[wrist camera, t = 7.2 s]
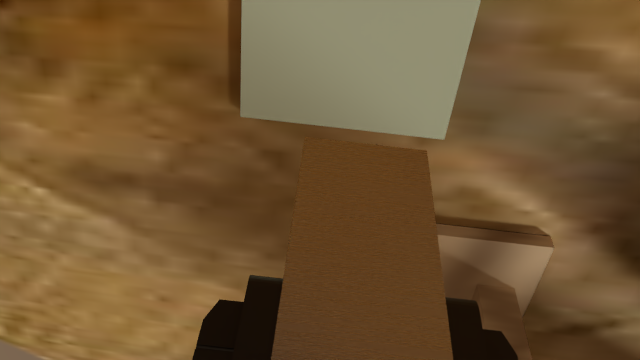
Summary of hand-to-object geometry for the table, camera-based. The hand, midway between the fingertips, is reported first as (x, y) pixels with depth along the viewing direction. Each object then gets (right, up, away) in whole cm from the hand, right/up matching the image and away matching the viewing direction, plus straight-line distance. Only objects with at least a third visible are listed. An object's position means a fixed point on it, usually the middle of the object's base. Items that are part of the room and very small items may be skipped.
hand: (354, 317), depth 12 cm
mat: (+1, +10, +18) cm, 20 cm away
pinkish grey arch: (0, +1, +5) cm, 5 cm away
